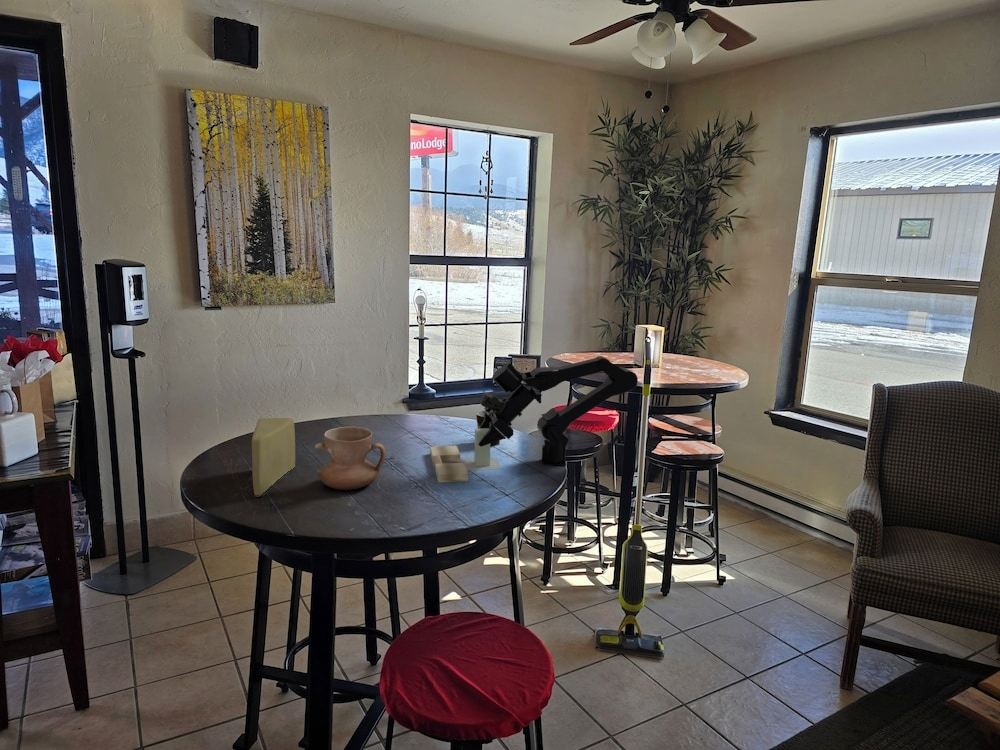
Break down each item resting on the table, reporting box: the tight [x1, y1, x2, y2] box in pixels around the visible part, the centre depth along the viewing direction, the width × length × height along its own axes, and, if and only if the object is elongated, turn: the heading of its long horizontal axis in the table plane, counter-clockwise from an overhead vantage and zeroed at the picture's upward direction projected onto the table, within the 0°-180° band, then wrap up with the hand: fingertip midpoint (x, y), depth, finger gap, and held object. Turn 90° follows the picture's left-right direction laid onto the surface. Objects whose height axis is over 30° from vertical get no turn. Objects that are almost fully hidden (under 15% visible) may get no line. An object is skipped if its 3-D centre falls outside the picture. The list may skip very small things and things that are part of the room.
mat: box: [462, 457, 503, 472], centre depth 186 cm, size 10×10×1 cm
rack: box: [429, 445, 469, 483], centre depth 183 cm, size 8×24×2 cm, turn 11°
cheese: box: [251, 417, 296, 496], centre depth 168 cm, size 22×10×15 cm, turn 6°
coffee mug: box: [475, 409, 501, 447], centre depth 206 cm, size 12×9×10 cm
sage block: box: [473, 428, 491, 466], centre depth 185 cm, size 4×4×10 cm
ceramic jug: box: [314, 425, 387, 491], centre depth 167 cm, size 18×14×14 cm
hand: (477, 441), depth 184 cm, fingers open, 8 cm apart
